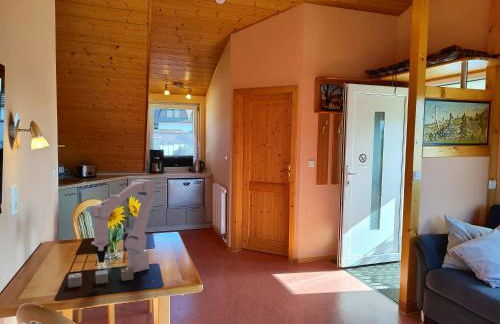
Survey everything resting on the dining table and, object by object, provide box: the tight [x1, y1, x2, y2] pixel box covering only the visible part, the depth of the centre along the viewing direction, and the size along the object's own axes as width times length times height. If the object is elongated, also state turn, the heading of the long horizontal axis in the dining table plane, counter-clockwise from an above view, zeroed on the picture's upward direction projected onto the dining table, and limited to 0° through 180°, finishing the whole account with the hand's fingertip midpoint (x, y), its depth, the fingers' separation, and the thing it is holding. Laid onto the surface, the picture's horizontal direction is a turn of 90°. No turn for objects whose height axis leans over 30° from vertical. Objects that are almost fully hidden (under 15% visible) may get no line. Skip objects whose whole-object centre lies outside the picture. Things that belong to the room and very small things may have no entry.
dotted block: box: [67, 272, 83, 289], centre depth 157 cm, size 5×5×4 cm
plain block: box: [95, 269, 109, 285], centre depth 161 cm, size 5×5×4 cm
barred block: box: [120, 267, 134, 282], centre depth 165 cm, size 5×5×4 cm
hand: (101, 262), depth 161 cm, fingers closed
